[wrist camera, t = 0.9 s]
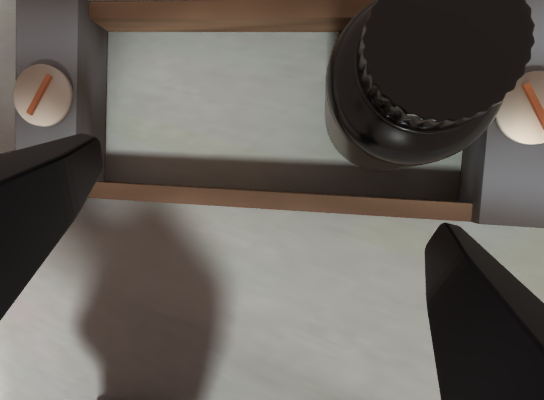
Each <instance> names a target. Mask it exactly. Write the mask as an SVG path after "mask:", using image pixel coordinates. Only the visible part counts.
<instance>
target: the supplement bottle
mask: <svg viewBox="0 0 544 400" xmlns="http://www.w3.org/2000/svg"><path fill="white" fill-rule="evenodd" d="M531 10H532V9H531V7H530V6H529V5H528V4H527V3H526V0H375V1H373V2H371V3H370V4H368V5H367V6H366V7H364V8H363V9H362V10H361V11H359V12H358V13H357V14H356V15H355V16H354V17H353V18H352V19H351V20H350V22H349V23H348V24H347V25H346V26H345V28H344V29H343V31H342V32H341V34H340V35H339V37H338V39H337V41H336V43H335V45H334V47H333V50H332V53H331V56H330V59H329V64H328V68H327V75H326V98H325V121H326V128H327V131H328V134H329V137H330V139H331V141H332V143H333V145H334V146H335V148H336V149H337V150H338V152H339V153H340V154H341V155H342V156H343V157H344V158H346V159H347V160H348V161H350V162H351V163H353V164H355V165H357V166H359V167H362V168H365V169H369V170H374V171H389V170H396V169H402V168H407V167H413V166H418V165H423V164H428V163H432V162H436V161H439V160H442V159H445V158H447V157H450V156H452V155H454V154H456V153H458V152H460V151H461V150H463V149H465V148H466V147H468V146H469V145H470V144H472V143H473V142H474V141H475V140H476V139H478V138H479V137H480V136H481V135H482V134H483V133H484V131H485V130H486V129H487V128H488V127H489V125H490V124H491V123H492V122H493V120H494V118H495V117H496V115H497V114H498V112H499V110H500V108H501V106H502V103H503V100H504V98H505V95H506V94H508V93H510V92H511V91H513V90H514V88H515V86H516V83H517V80H519V79H520V78H521V77H522V76H523V75H524V73H525V67H526V64H527V63H528V62H529V61H530V60H531V48H532V47H533V45H534V43H535V40H534V36H533V31H534V27H535V24H534V22H533V20H532V18H531Z"/></svg>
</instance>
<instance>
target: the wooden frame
mask: <svg viewBox="0 0 544 400" xmlns="http://www.w3.org/2000/svg"><path fill="white" fill-rule="evenodd" d="M373 1H375V0H185V1H88V0H16V82H15V85H14V90H13V99H14V104H15V107H16V124H15V150H19V149H22V148H26V147H30V146H34V145H38V144H42V143H45V142H49V141H53V140H57V139H61V138H65V137H68V136H72V135H76V134H80V133H84V134H88V135H92V136H96V137H98V138H99V140H100V142H101V150H102V159H103V169H102V172H101V174H100V176H99V178H98V180H97V181H96V183H95V185H94V187H93V188H92V190H91V192H90V194H89V196H88V197H87V198H102V199H118V200H134V201H150V202H166V203H182V204H198V205H214V206H230V207H245V208H261V209H277V210H293V211H309V212H325V213H341V214H357V215H373V216H389V217H405V218H421V219H437V220H453V221H469V222H474V223H478V224H489V225H505V226H521V227H537V228H544V0H526V3H527V4H528V5H529V6H530V7H531V9H532V10H531V18H532V20H533V22H534V24H535V27H534V31H533V36H534V40H535V43H534V45H533V47H532V48H531V60H530V61H529V62H528V63H527V64H526V67H525V73H524V75H523V76H522V77H521V78H520V79H519V80H517V83H516V86H515V88H514V90H513V91H511V92H510V93H508V94H506V95H505V98H504V100H503V103H502V106H501V108H500V110H499V112H498V114H497V115H496V117H495V118H494V120H493V122H492V123H491V124H490V125H489V127H488V128H487V129H486V130H485V131H484V133H483V134H482V135H481V136H480V137H479V138H478V139H476V140H475V141H474V142H473V143H472V144H470V145H469V146H468V147H466V148H465V149H463V155H462V167H461V179H460V191H459V201H442V200H424V199H406V198H389V197H371V196H353V195H336V194H318V193H300V192H282V191H265V190H247V189H229V188H211V187H194V186H176V185H158V184H141V183H123V182H105V181H104V177H105V131H106V86H107V41H108V32H342V31H343V29H344V28H345V26H346V25H347V24H348V23H349V22H350V20H351V19H352V18H353V17H354V16H355V15H356V14H357V13H358V12H359V11H361V10H362V9H363V8H364V7H366V6H367V5H368V4H370V3H371V2H373Z"/></svg>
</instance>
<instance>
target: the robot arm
mask: <svg viewBox="0 0 544 400" xmlns="http://www.w3.org/2000/svg"><path fill="white" fill-rule="evenodd" d="M102 169H103V159H102V150H101V142H100V140H99V138H98V137H96V136H92V135H88V134H84V133H80V134H76V135H72V136H68V137H65V138H61V139H57V140H53V141H49V142H45V143H42V144H38V145H34V146H30V147H26V148H22V149H19V150H15V151H11V152H7V153H3V154H0V320H1V319H2V318H3V316H4V315H5V313H6V312H7V311H8V309H9V308H10V307H11V305H12V304H13V303H14V301H15V300H16V299H17V297H18V296H19V294H20V293H21V292H22V290H23V289H24V288H25V286H26V285H27V284H28V282H29V281H30V280H31V278H32V277H33V275H34V274H35V273H36V271H37V270H38V269H39V267H40V266H41V265H42V263H43V262H44V261H45V259H46V258H47V256H48V255H49V254H50V252H51V251H52V250H53V248H54V247H55V246H56V244H57V243H58V242H59V240H60V239H61V237H62V236H63V235H64V233H65V232H66V231H67V229H68V228H69V227H70V225H71V224H72V222H73V221H74V219H75V218H76V216H77V215H78V213H79V211H80V210H81V208H82V206H83V204H84V203H85V201H86V199H87V197H88V196H89V194H90V192H91V190H92V188H93V187H94V185H95V183H96V181H97V180H98V178H99V176H100V174H101V172H102ZM425 276H426V301H427V310H428V317H429V323H430V330H431V336H432V343H433V349H434V356H435V362H436V369H437V375H438V382H439V388H440V395H441V400H544V303H543V302H542V301H541V300H540V299H538V298H537V297H536V296H535V295H534V294H533V293H532V292H531V291H530V290H529V289H528V288H526V287H525V286H524V285H523V284H522V283H521V282H520V281H519V280H518V279H517V278H516V277H514V276H513V275H512V274H511V273H510V272H509V271H508V270H507V269H506V268H505V267H504V266H502V265H501V264H500V263H499V262H498V261H497V260H496V259H495V258H494V257H493V256H492V255H490V254H489V253H488V252H487V251H486V250H485V249H484V248H483V247H482V246H481V245H479V244H478V243H477V242H476V241H475V240H474V239H473V238H472V237H471V236H470V235H469V234H467V233H466V232H465V231H464V230H463V229H462V228H461V227H459V226H457V225H453V224H449V223H442V224H441V225H440V226H439V227H438V228H437V230H436V231H435V233H434V234H433V236H432V237H431V239H430V240H429V242H428V243H427V245H426V248H425Z"/></svg>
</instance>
